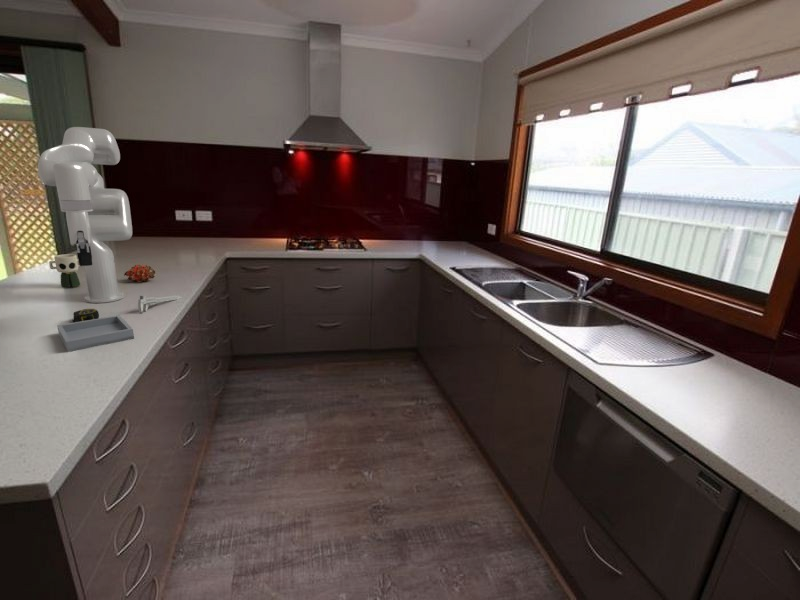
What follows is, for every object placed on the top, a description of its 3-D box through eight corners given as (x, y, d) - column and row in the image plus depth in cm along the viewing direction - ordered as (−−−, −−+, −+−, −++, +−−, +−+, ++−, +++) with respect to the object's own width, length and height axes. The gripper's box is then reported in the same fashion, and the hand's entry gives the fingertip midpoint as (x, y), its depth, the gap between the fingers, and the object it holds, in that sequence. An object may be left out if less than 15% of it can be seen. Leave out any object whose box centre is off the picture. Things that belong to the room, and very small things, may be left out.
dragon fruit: (158, 284, 187) (128, 289, 183) (158, 270, 191) (128, 275, 188) (152, 272, 180) (121, 277, 176) (151, 258, 184) (121, 262, 181)
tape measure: (74, 320, 138) (72, 309, 137) (99, 317, 142) (98, 306, 141) (73, 327, 133) (71, 315, 131) (99, 323, 136) (97, 312, 135)
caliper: (141, 314, 147) (139, 297, 145) (139, 314, 147) (136, 296, 145) (182, 298, 166) (180, 282, 164) (179, 297, 166) (177, 282, 165)
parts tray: (59, 334, 126) (57, 325, 125) (120, 323, 137) (119, 314, 136) (67, 352, 115) (65, 341, 114) (134, 338, 126) (132, 329, 125)
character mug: (54, 290, 166) (48, 258, 162) (53, 286, 171) (47, 255, 168) (88, 287, 173) (82, 256, 169) (86, 283, 178) (81, 253, 174)
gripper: (61, 203, 129) (71, 257, 134) (58, 209, 115) (70, 269, 121) (91, 203, 133) (100, 255, 138) (92, 209, 120) (101, 267, 125)
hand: (86, 262), depth 129 cm, fingers open, 9 cm apart
